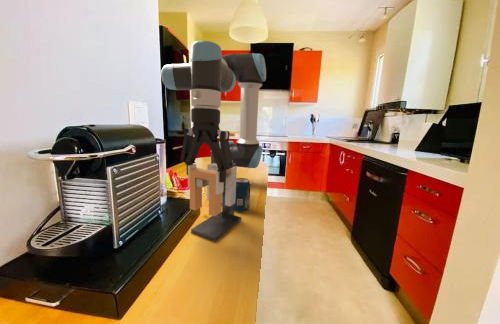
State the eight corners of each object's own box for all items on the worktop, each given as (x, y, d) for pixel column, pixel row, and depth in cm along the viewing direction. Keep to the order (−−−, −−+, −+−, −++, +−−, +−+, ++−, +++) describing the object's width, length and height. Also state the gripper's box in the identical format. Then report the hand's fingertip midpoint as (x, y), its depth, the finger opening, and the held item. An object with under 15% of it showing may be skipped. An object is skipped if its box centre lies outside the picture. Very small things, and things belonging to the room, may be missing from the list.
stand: (219, 214, 74) (221, 161, 71) (241, 220, 71) (243, 164, 67) (187, 235, 60) (186, 170, 56) (212, 244, 56) (213, 175, 52)
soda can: (233, 205, 83) (234, 177, 81) (250, 206, 83) (251, 178, 80) (230, 212, 76) (231, 182, 74) (248, 213, 76) (249, 183, 73)
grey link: (212, 197, 69) (213, 163, 67) (235, 203, 65) (236, 167, 63) (207, 200, 66) (207, 164, 64) (230, 206, 62) (231, 168, 60)
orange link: (196, 205, 62) (196, 167, 60) (221, 212, 58) (221, 172, 56) (189, 208, 59) (189, 169, 57) (214, 216, 55) (215, 174, 53)
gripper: (165, 106, 54) (167, 185, 59) (233, 107, 45) (230, 202, 49) (185, 108, 61) (186, 179, 65) (249, 110, 52) (245, 193, 56)
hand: (205, 189), depth 57 cm, fingers closed on orange link, 9 cm apart
